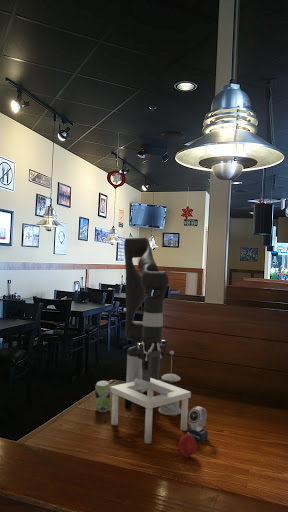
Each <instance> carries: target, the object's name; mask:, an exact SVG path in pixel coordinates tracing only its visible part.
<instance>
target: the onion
mask: <svg viewBox="0 0 288 512" xmlns="http://www.w3.org/2000/svg"><path fill="white" fill-rule="evenodd" d="M197 443H198V442H196V440H195V439H194V437H193V436H192V435H190V433H189V432H188V431H187V432H186V433H185V434H184V435H183V436H181V437H180V439H179V441H178V450H179V451H180V453H181V454H182V455H183V456H184V457H185V458H190V457H191V456H192V455H194V454H195V453H196V452H197V448H198V444H197Z"/></svg>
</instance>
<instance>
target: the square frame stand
mask: <svg viewBox="0 0 288 512" xmlns="http://www.w3.org/2000/svg"><path fill="white" fill-rule="evenodd" d="M159 380H160V379H159ZM159 380H155V379H153V378H151V377H150V382H146V381H144V380H140V379H137V378H136V379H135V380H134V382H129V383H126V382H125V383H120V384H114V385H110V393H112V398H111V419H110V421H111V422H110V424H111V425H112V426H118V423H119V418H118V417H119V397H121V398H123V399H124V398H125V399H127V400H130V401H131V403H135V404H137V405H139V406H141V407H144V408H145V414H144V415H145V416H144V417H145V418H144V441H143V442H144V444H148V445H149V444H152V438H153V437H152V432H153V413H154V412H153V411H154V408H157V407H161V406H162V405H165V404H169V403H172V402H176V401H179V402H180V401H181V403H180V404H181V405H180V406H181V407H180V410H181V413H180V430H181V431H184V432H185V431H188V413H189V412H188V411H189V409H188V407H189V398H192V397H191V396H192V392H191V391H189V390H187V389H183V388H182V387H179V386H178V387H179V388H178V387H176V386H177V385H174V384H171V383H167V382H165V381H164V382H163V380H162V381H159ZM173 385H174V386H173ZM143 388H147V391H146V392H147V395H146V394H144V393H139V392H137V391H134V390H139V389H143ZM154 392H155V393H158V394H157V395H156V396H154ZM160 394H162V395H160Z"/></svg>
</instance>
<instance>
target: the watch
mask: <svg viewBox="0 0 288 512" xmlns="http://www.w3.org/2000/svg"><path fill="white" fill-rule="evenodd" d="M207 417H208V416H207V410H206V408H204V407H202V406H198V405H196V406H194V407H193V408H192V409H191V410H190V411H189V412H188V416H187V421H188V424H189V427H190V428H187V432H189V433H190V435H192V436H193V437H194V439H195V440H196V441H197V442H196V443H199V442H200V444H202V443H203V441H204V442H205V440H206V441H207V440H208V438H209V437H208V436H209V430H207V429H205V428H204V427H205V425H206V421H207Z"/></svg>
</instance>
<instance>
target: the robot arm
mask: <svg viewBox="0 0 288 512" xmlns="http://www.w3.org/2000/svg"><path fill="white" fill-rule="evenodd" d="M123 249H124V263H125V265H124V266H125V325H124V326H125V329H124V331H125V334H124V335H125V339H126V340H127V341H134V342H137V341H138V342H137V343H136V345H134V346H130V347H129V348H128V349H127V352H126V354H127V355H126V356H127V357H126V359H127V360H126V377H125V378H126V380H125V381H126V382H125V383H129V382H134V380H135V379H136V378H137V379H140V380H142V370H144V371H147V368H148V361H147V360H148V355H149V352H151V351H160V360H161V359H162V358H163V357H165V356H166V350H167V344H168V341H167V340H165V339H162V337H163V330H164V329H163V328H164V326H163V325H164V324H163V323H164V317H163V314H164V313H163V312H164V311H163V310H164V309H163V308H164V300H165V296H166V292H167V288H168V285H169V275H168V274H167V273H166V272H164V271H159V268H158V266H157V263H156V261H155V258H154V256H153V251H152V247H151V244H150V240H149V239H148V238H147V237H145V236H132V237H126V238H125V240H124V247H123ZM136 258H139V260H138V263H137V265H138V270H139V272H138V270H137V268H136V266H135V264H134V261H133V259H136ZM146 290H147V291H156V293H155V294H153V295H149V296H146ZM143 303H144V306H143V315H142V320H141V321H140V320H139V321H138V320H133V319H134V316H135V314H136V312H137V311H138V309H139V308H140V307H141V306H142V304H143ZM139 341H140V342H139ZM145 350H146V351H148V352H145ZM145 354H146V356H145ZM134 391H137V392H139V393H142V394H144V393H145V392H148V388H143V389H139V390H134Z"/></svg>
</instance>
